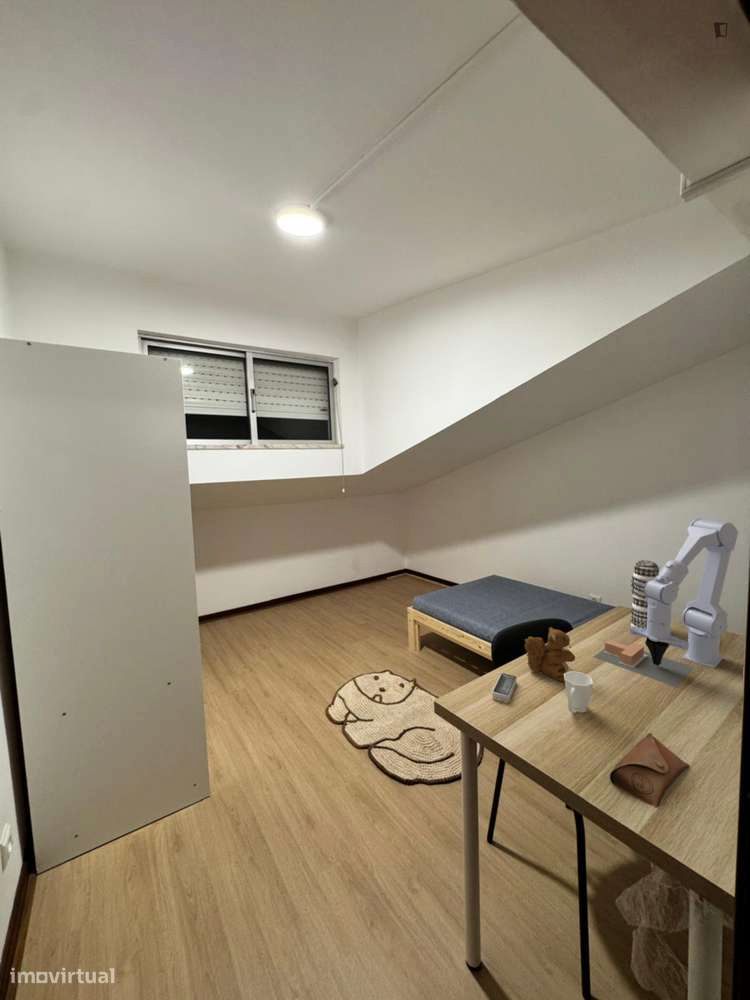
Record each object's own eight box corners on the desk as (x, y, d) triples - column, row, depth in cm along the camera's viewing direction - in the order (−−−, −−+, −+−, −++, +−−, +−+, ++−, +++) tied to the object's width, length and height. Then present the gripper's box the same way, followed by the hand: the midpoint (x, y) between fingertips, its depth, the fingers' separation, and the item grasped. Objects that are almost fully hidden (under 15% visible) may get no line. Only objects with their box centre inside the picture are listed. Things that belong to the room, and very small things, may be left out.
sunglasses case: (658, 811, 71) (638, 771, 74) (622, 806, 77) (604, 768, 79) (691, 764, 82) (673, 729, 84) (657, 762, 87) (640, 730, 89)
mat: (614, 642, 135) (614, 641, 135) (694, 668, 118) (694, 667, 118) (593, 658, 126) (593, 656, 126) (676, 688, 108) (676, 687, 108)
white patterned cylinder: (661, 634, 140) (664, 566, 137) (630, 629, 144) (632, 563, 142) (658, 624, 148) (660, 560, 145) (629, 620, 152) (631, 557, 150)
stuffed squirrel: (576, 684, 112) (577, 640, 110) (523, 676, 117) (523, 633, 116) (573, 667, 121) (573, 626, 119) (524, 659, 126) (524, 620, 125)
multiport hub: (491, 699, 107) (491, 691, 106) (501, 679, 116) (501, 672, 116) (508, 704, 104) (508, 696, 104) (516, 683, 114) (516, 676, 113)
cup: (596, 706, 102) (596, 677, 101) (585, 726, 94) (585, 694, 94) (567, 695, 107) (567, 667, 106) (554, 714, 99) (555, 684, 98)
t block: (613, 645, 133) (613, 636, 132) (643, 655, 125) (644, 646, 125) (599, 654, 127) (600, 646, 126) (631, 665, 119) (631, 656, 119)
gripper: (626, 617, 120) (624, 658, 122) (684, 632, 109) (681, 678, 110) (635, 611, 125) (634, 651, 126) (692, 625, 113) (689, 669, 114)
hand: (656, 663), depth 118 cm, fingers closed
